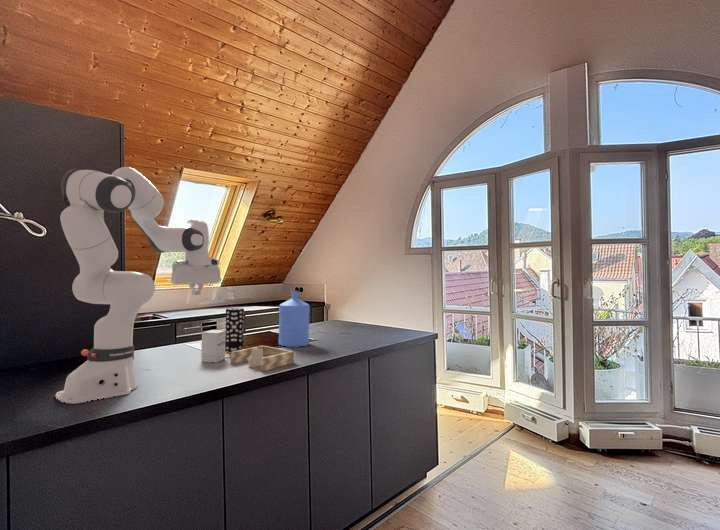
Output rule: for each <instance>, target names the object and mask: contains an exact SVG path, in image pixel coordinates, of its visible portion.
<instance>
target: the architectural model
mask: <svg viewBox="0 0 720 530" xmlns="http://www.w3.org/2000/svg"><path fill="white" fill-rule="evenodd" d="M261 358H264V357H263V348H262V349H255V350H251V355H250V357H249V358H247V359H248V361H247V362H248V363H247V364H248V365H247V367H248V366H249V367H248V368H250V367H252V368H256V367H255V366H257V367H260V361H261Z"/></svg>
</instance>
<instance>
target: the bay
mask: <svg viewBox="0 0 720 530" xmlns="http://www.w3.org/2000/svg"><path fill="white" fill-rule="evenodd" d="M262 348H263V357H264V358H261V361H260V366H259V368H260V369H259V371H260V372H266V371H270V370H273V368H274V369H277V368H281V367H284V366H283V365H285V366H287V365H286V364H289V365H291V364H290V363H293V364H295V351H294V350H289V349H285V348H279V347H278V348H277V347H273V346H268V345H258V346H253V347H249V348H243V350H238V351H233V352H231V353H230V364H231V363H232V364H231V365H235V364H234V363H236V364H239V363H238V362H240V363H244V362H243V361H245V362H248V361H247V360H248V359H247V358H249V357H250V355H251V350H255V349H262ZM280 366H281V367H280ZM276 367H277V368H276ZM269 369H270V370H269ZM265 370H266V371H265Z"/></svg>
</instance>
